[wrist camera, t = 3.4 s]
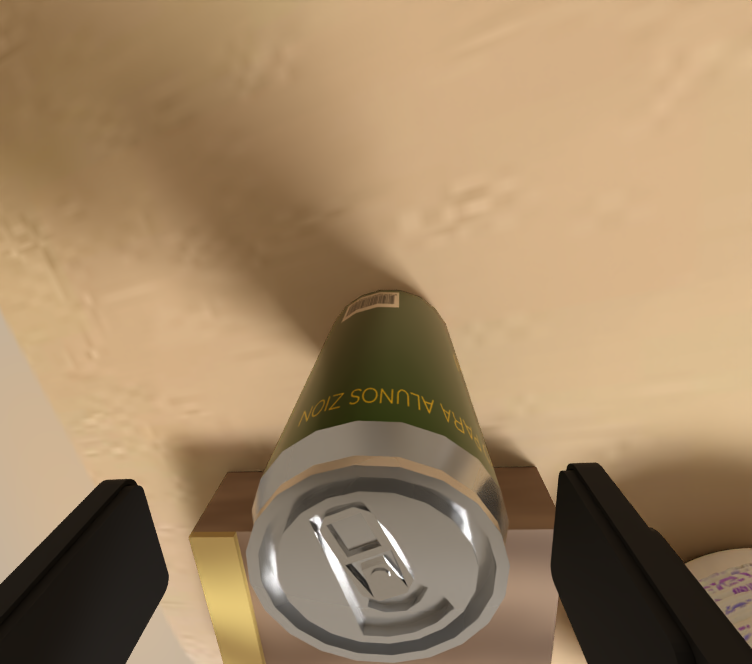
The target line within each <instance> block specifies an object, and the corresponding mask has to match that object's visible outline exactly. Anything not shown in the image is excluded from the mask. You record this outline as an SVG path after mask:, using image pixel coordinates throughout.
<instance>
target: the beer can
mask: <svg viewBox="0 0 752 664" xmlns="http://www.w3.org/2000/svg"><path fill="white" fill-rule="evenodd" d="M252 517H253V525H254V526H253V529H252V532H251V536H250V539H249V543H248V546H247V549H246V558H247V566H248V574H249V581H250V584H251V586H252V588H253V589H254V591H255V593H256V595H257V597H258V599H259V600H260V602H261V604H262V606H263V608H264V609H265V611H266V612H267V613H268V614H269V615H270V616H272V617H273V618H274V619H275V620H276V621H277V622H278V623H279V624H280V625H281V626H282V627H283V628H284V629H285V630H286V631H287V632H288V633H289V634H291V635H293V636H295V637H297V638H299V639H300V640H302V641H304V642H306V643H308V644H310V645H311V646H313V647H315V648H317V649H319V650H321V651H324V652H327V653H331V654H335V655H338V656H342V657H345V658H349V659H352V660H356V661H370V662H386V663H397V662H403V661H410V660H416V659H423V658H429V657H432V656H434V655H437V654H439V653H442V652H444V651H447V650H449V649H451V648H454V647H456V646H459V645H461V644H463V643H464V642H466V641H467V640H468V639H469V638H471V637H472V636H473V635H474V634H476V633H477V632H478V631H479V630H481V629H482V628H483V627H484V626H486V625H487V624H488V623H489V622H490V620H491V618H492V617H493V615H494V614H495V612H496V610H497V609H498V607H499V606H500V604H501V602H502V601H503V599H504V598H505V595H506V588H507V582H508V575H509V569H510V564H509V560H508V557H507V553H506V549H505V546H506V540H507V533H508V526H509V519H508V516H507V512H506V508H505V504H504V501H503V497H502V493H501V489H500V486H499V483H498V480H497V477H496V474H495V471H494V468H493V465H492V462H491V459H490V456H489V453H488V450H487V447H486V444H485V441H484V438H483V435H482V432H481V429H480V426H479V423H478V420H477V417H476V414H475V411H474V408H473V405H472V402H471V399H470V396H469V393H468V390H467V387H466V384H465V381H464V378H463V375H462V372H461V369H460V365H459V362H458V359H457V356H456V353H455V350H454V347H453V344H452V341H451V338H450V335H449V332H448V329H447V326H446V324H445V322H444V321H443V319H442V318H441V316H440V315H439V313H438V312H437V311H436V309H435V308H434V307H432V306H431V305H430V304H428V303H427V302H426V301H424V300H423V299H422V298H420V297H419V296H416V295H413V294H410V293H407V292H404V291H401V290H379V291H376V292H372V293H369V294H366V295H362V296H360V297H359V298H358V299H356V300H355V301H353V302H352V303H350V304H349V305H347V306H346V307H345V308H344V310H343V311H342V312H341V314H340V315H339V317H338V318H337V319H336V321H335V322H334V324H333V326H332V329H331V331H330V333H329V335H328V337H327V339H326V341H325V343H324V346H323V348H322V350H321V352H320V354H319V356H318V358H317V360H316V363H315V365H314V367H313V369H312V371H311V373H310V375H309V377H308V379H307V382H306V384H305V386H304V388H303V390H302V392H301V394H300V396H299V399H298V401H297V403H296V405H295V407H294V409H293V411H292V413H291V416H290V418H289V420H288V422H287V424H286V426H285V428H284V430H283V433H282V435H281V437H280V439H279V441H278V443H277V445H276V447H275V449H274V452H273V454H272V456H271V458H270V460H269V462H268V464H267V466H266V469H265V471H264V473H263V475H262V477H261V479H260V483H259V486H258V490H257V493H256V497H255V500H254V504H253V507H252Z"/></svg>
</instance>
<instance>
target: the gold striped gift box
mask: <svg viewBox="0 0 752 664" xmlns="http://www.w3.org/2000/svg"><path fill="white" fill-rule="evenodd" d="M494 471H495V474H496V477H497V480H498V483H499V486H500V489H501V493H502V497H503V501H504V504H505V508H506V512H507V516H508V519H509V526H508V533H507V540H506V546H505V549H506V553H507V557H508V560H509V564H510V569H509V575H508V582H507V588H506V595H505V598H504V599H503V601H502V602H501V604H500V606H499V607H498V609H497V610H496V612H495V614H494V615H493V617H492V618H491V620H490V622H489V623H488V624H487V625H486V626H484V627H483V628H482V629H481V630H479V631H478V632H477V633H476V634H474V635H473V636H472V637H471V638H469V639H468V640H467V641H466V642H464V643H463V644H461V645H459V646H456V647H454V648H451V649H449V650H447V651H444V652H442V653H439V654H437V655H434V656H432V657H429V658H423V659H416V660H410V661H403V662H397V663H386V662H370V661H356V660H352V659H349V658H345V657H342V656H338V655H335V654H331V653H327V652H324V651H321V650H319V649H317V648H315V647H313V646H311V645H310V644H308V643H306V642H304V641H302V640H300V639H299V638H297V637H295V636H293V635H291V634H289V633H288V632H287V631H286V630H285V629H284V628H283V627H282V626H281V625H280V624H279V623H278V622H277V621H276V620H275V619H274V618H273V617H272V616H270V615H269V614H268V613H267V612H266V611H265V609H264V608H263V606H262V604H261V602H260V600H259V599H258V597H257V595H256V593H255V591H254V589H253V588H252V586H251V584H250V581H249V574H248V566H247V558H246V549H247V546H248V543H249V539H250V536H251V532H252V529H253V526H254V525H253V517H252V507H253V504H254V500H255V497H256V493H257V490H258V486H259V483H260V479H261V477H262V475H263V473H264V472H228V473H227V474H226V476H225V478H224V479H223V481H222V483H221V484H220V486H219V488H218V489H217V491H216V493H215V494H214V496H213V498H212V499H211V501H210V503H209V504H208V506H207V508H206V509H205V511H204V513H203V514H202V516H201V518H200V519H199V521H198V523H197V524H196V526H195V528H194V529H193V531H192V533H191V534H190V536H189V540H190V544H191V548H192V551H193V555H194V559H195V562H196V566H197V569H198V573H199V577H200V580H201V584H202V588H203V591H204V595H205V598H206V602H207V606H208V609H209V613H210V616H211V620H212V624H213V627H214V631H215V635H216V638H217V642H218V645H219V649H220V653H221V656H222V660H223V664H551V659H552V650H553V641H554V632H555V623H556V615H557V606H558V597H559V594H558V592H557V590H556V587H555V585H554V582H553V579H552V575H551V567H550V563H551V553H552V542H553V531H554V521H555V510H556V507H555V505H554V503H553V501H552V499H551V497H550V495H549V493H548V491H547V488H546V486H545V484H544V482H543V480H542V478H541V476H540V474H539V472H538V470H537V468H536V467H505V468H494Z"/></svg>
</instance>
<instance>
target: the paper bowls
mask: <svg viewBox="0 0 752 664" xmlns="http://www.w3.org/2000/svg"><path fill="white" fill-rule="evenodd" d="M685 565H686V566H687V568H688V569H689V570H690V571H691V573H692V574H693V575H694V576H695V578H696V579H697V580H698V582H699V583H700V584H701V585H702V587H703V588H704V589H705V590H706V592H707V593H708V594H709V595H710V597H711V598H712V599H713V600H714V602H715V603H716V604H717V605H718V607H719V608H720V609H721V610H722V612H723V613H724V614H725V615H726V617H727V618H728V619H729V621H730V622H731V623H732V624H733V626H734V627H735V628H736V629H737V631H738V632H739V633H740V634H741V636H742V637H743V638H744V639H745V641H746V642H747V643H748V644H749V646H750V647H751V648H752V548H741V549H731V550H725V551H720V552H715V553H712V554H708V555H704V556H702V557H699V558H696V559H694V560H692V561H689V562H687V563H685Z"/></svg>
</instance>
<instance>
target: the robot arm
mask: <svg viewBox="0 0 752 664" xmlns="http://www.w3.org/2000/svg"><path fill="white" fill-rule="evenodd" d="M550 567H551V575H552V579H553V582H554V585H555V587H556V590H557V592H558V594H559V597H560V599H561V602H562V604H563V606H564V609H565V611H566V613H567V616H568V618H569V620H570V623H571V625H572V628H573V630H574V632H575V635H576V637H577V639H578V642H579V644H580V647H581V649H582V651H583V654H584V656H585V658H586V661H587V663H588V664H752V648H751V647H750V646H749V644H748V643H747V642H746V641H745V639H744V638H743V637H742V636H741V634H740V633H739V632H738V631H737V629H736V628H735V627H734V626H733V624H732V623H731V622H730V621H729V619H728V618H727V617H726V615H725V614H724V613H723V612H722V610H721V609H720V608H719V607H718V605H717V604H716V603H715V602H714V600H713V599H712V598H711V597H710V595H709V594H708V593H707V592H706V590H705V589H704V588H703V587H702V585H701V584H700V583H699V582H698V580H697V579H696V578H695V576H694V575H693V574H692V573H691V571H690V570H689V569H688V568H687V566H686V565H685V564H684V563H683V561H682V560H681V559H680V558H679V556H678V555H677V554H676V553H675V551H674V550H673V549H672V548H671V546H670V545H669V544H668V543H667V541H666V540H665V539H664V538H663V536H662V535H661V534H660V533H659V532H658V531H656V530H654V529H653V528H649V527H648V526H647V524H646V523H645V522H644V521H643V519H642V518H641V517H640V515H639V514H638V513H637V512H636V510H635V509H634V508H633V506H632V505H631V504H630V503H629V501H628V500H627V499H626V497H625V496H624V495H623V494H622V492H621V491H620V490H619V488H618V487H617V486H616V484H615V483H614V482H613V481H612V479H611V478H610V477H609V475H608V474H607V473H606V472H605V470H604V469H603V468H602V466H601V465H599V464H598V463H571V464H568V466H567V469H566V471H560V473H559V478H558V489H557V499H556V510H555V521H554V531H553V542H552V553H551V563H550ZM168 580H169V575H168V571H167V567H166V564H165V560H164V557H163V554H162V550H161V547H160V544H159V540H158V537H157V533H156V530H155V527H154V523H153V520H152V517H151V513H150V510H149V506H148V503H147V500H146V496H145V493H144V490H143V488H142V487H141V486H138V485H137V483H136V482H135V481H134V480H132V479H116V480H105V481H103V482H101V483H100V484H99V485H98V486H97V487H96V488H95V489H94V490H93V491H92V492H91V493H90V494H89V495H88V496H87V497H86V498H85V499H84V500H83V501H82V502H81V503H80V504H79V505H78V506H77V507H76V508H75V509H74V510H73V511H72V513H70V514H69V515H68V516H67V517H66V518H65V519H64V520H63V521H62V522H61V524H59V525H58V527H57V528H56V529H55V530H53V532H52V533H51V534H50V535H49V536H48V537H47V538H46V539H45V540H44V541H43V542H42V543H41V544H40V545H39V546H38V547H37V548H36V549H35V550H34V551H33V552H32V553H31V554H30V555H29V556H28V557H27V558H26V559H25V560H24V561H23V562H22V563H21V564H20V565H19V566H18V567H17V568H16V569H15V570H14V571H13V572H12V573H11V574H10V575H9V576H8V577H7V578H6V579H5V580H4V581H3V582H2V583H1V584H0V664H126V662H127V660H128V658H129V656H130V655H131V653H132V651H133V649H134V647H135V646H136V644H137V642H138V640H139V638H140V636H141V635H142V633H143V631H144V629H145V627H146V626H147V624H148V622H149V620H150V618H151V617H152V615H153V613H154V611H155V609H156V608H157V606H158V604H159V602H160V601H161V599H162V597H163V595H164V593H165V591H166V589H167V586H168Z"/></svg>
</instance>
